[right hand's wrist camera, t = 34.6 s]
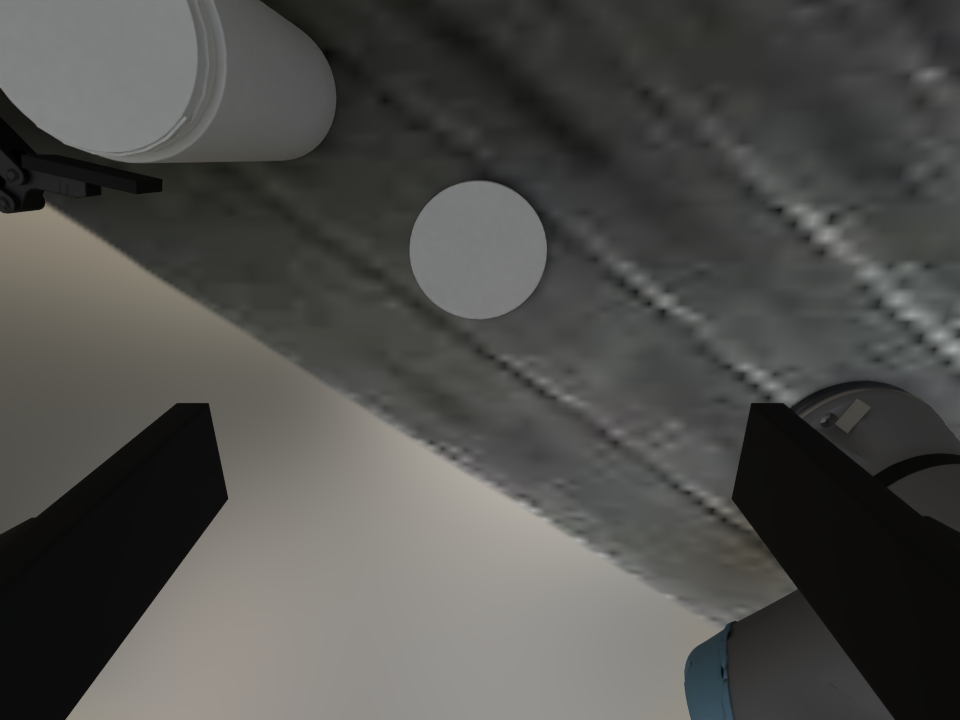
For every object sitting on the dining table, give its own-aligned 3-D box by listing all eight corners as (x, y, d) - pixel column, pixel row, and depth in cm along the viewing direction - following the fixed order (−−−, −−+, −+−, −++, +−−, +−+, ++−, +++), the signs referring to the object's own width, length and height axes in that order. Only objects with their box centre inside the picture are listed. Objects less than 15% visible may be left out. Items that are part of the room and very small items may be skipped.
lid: (447, 332, 43) (446, 339, 41) (388, 216, 39) (384, 218, 38) (563, 281, 41) (567, 286, 40) (512, 155, 38) (514, 155, 36)
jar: (180, 83, 36) (-95, 15, 19) (266, -16, 34) (47, -194, 17) (276, 187, 39) (112, 211, 21) (363, 100, 37) (258, 49, 19)
